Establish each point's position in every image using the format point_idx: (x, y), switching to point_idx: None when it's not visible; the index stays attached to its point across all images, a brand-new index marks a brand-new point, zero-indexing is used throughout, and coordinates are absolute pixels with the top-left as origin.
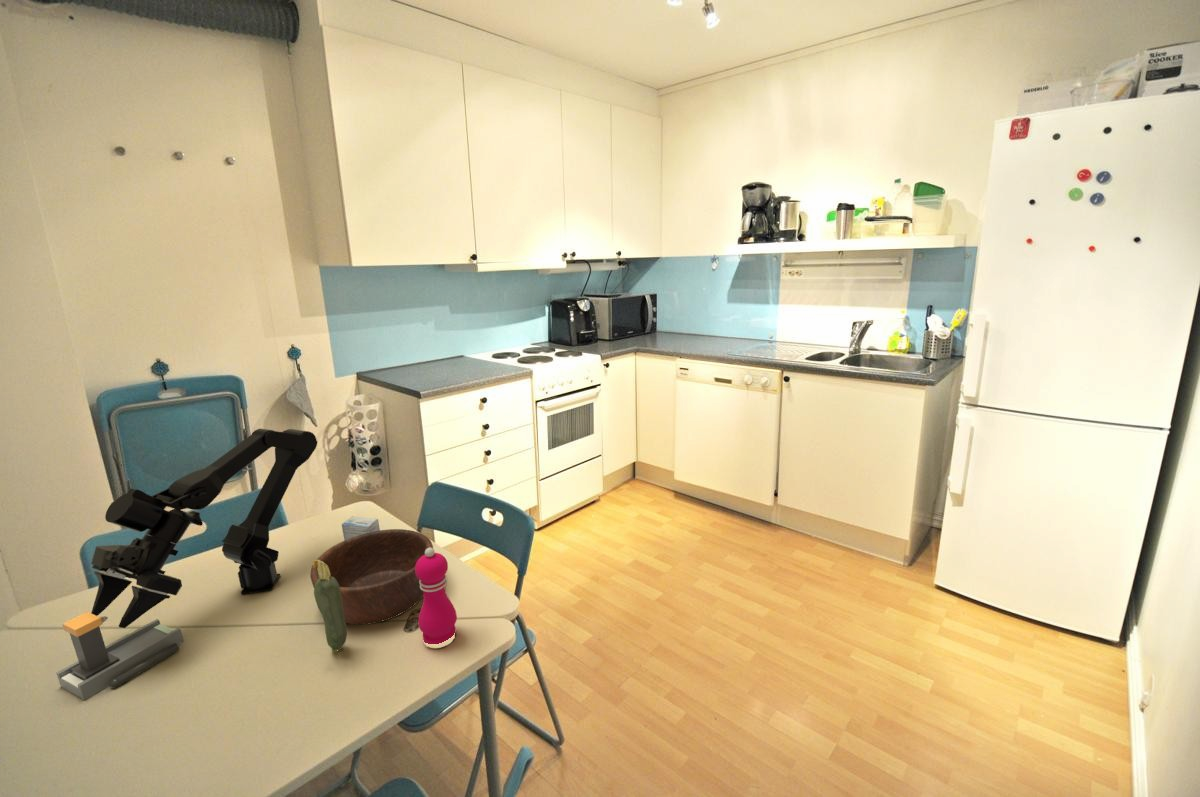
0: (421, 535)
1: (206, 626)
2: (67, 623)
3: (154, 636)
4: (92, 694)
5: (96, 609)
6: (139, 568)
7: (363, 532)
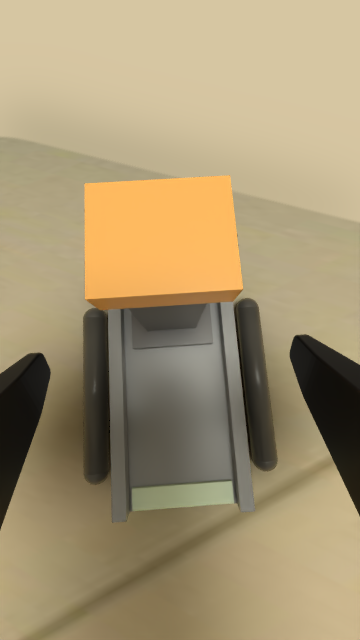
0: None
1: (136, 576)
2: (207, 189)
3: (181, 458)
4: None
5: (307, 357)
6: None
7: None
